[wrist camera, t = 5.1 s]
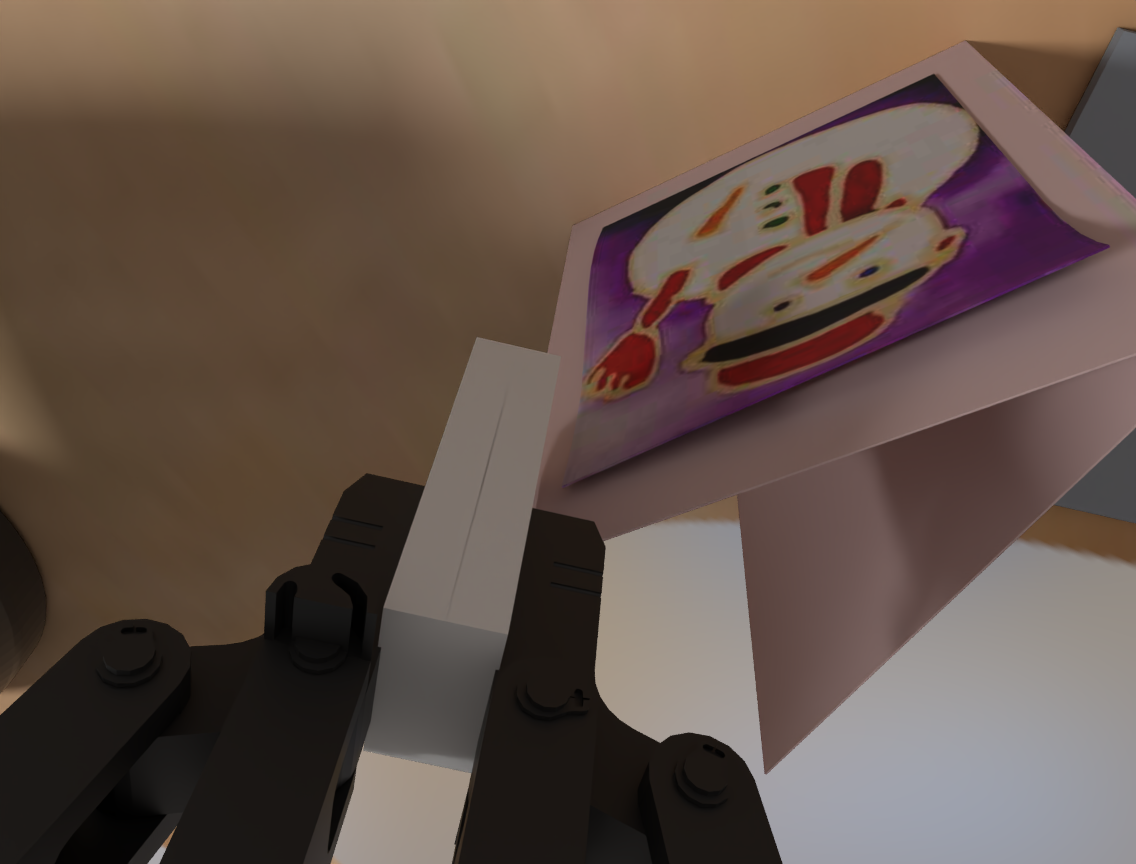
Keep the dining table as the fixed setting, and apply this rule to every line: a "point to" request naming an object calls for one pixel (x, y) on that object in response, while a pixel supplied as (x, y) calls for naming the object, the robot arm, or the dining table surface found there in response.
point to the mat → (1132, 157)
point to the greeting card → (851, 361)
